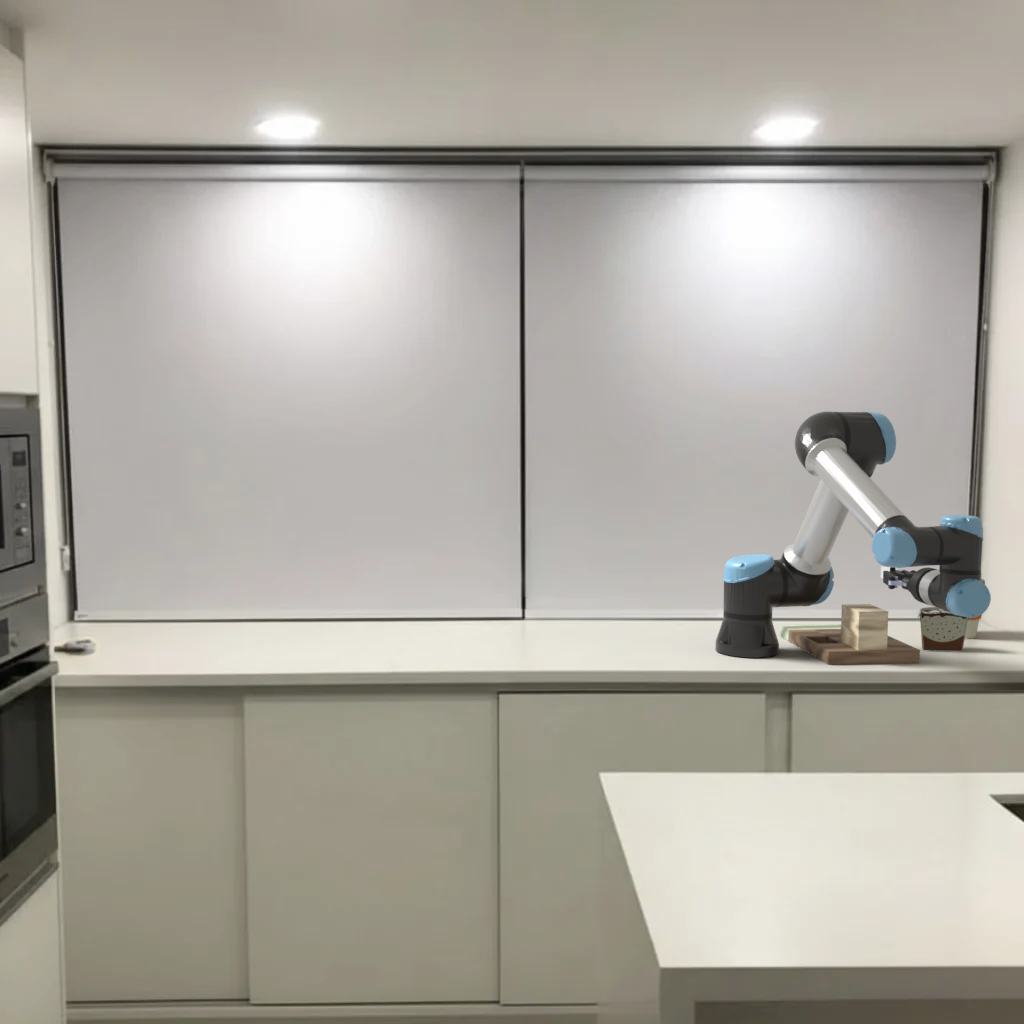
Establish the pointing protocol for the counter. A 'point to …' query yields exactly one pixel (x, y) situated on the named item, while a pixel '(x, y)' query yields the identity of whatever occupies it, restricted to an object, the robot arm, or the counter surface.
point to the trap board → (845, 646)
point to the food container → (942, 630)
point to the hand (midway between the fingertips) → (883, 571)
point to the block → (864, 627)
